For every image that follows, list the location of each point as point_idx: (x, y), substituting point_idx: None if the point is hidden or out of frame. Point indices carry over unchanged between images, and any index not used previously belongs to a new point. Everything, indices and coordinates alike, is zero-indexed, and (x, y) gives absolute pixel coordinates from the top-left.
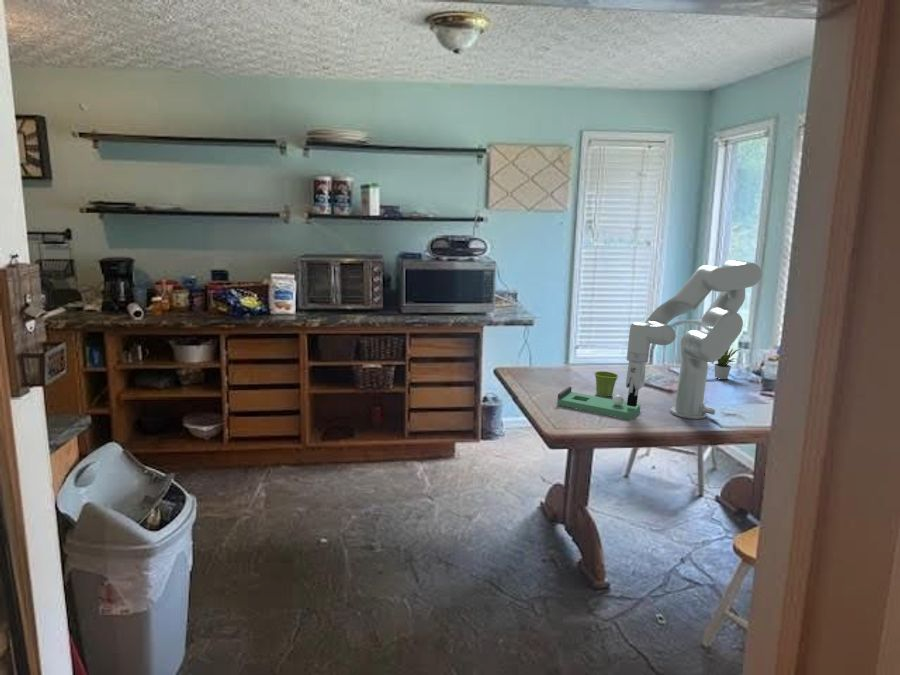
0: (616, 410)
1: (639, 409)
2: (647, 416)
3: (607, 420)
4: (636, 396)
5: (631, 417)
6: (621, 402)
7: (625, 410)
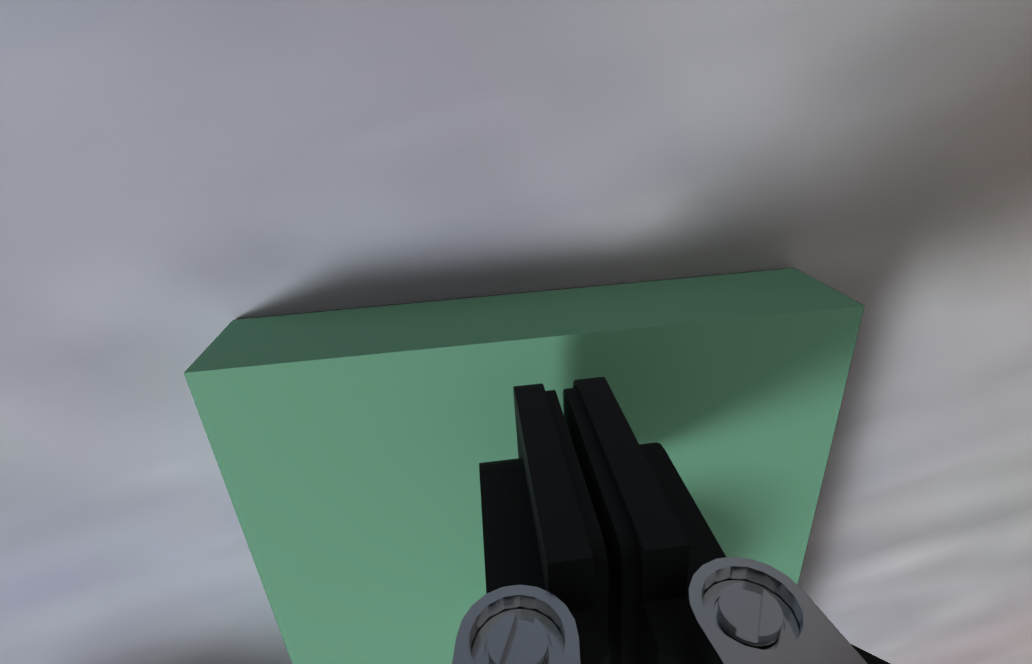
0: (811, 521)
1: (275, 330)
2: (442, 116)
3: (939, 473)
4: (683, 551)
5: (818, 287)
6: None
7: (745, 439)
